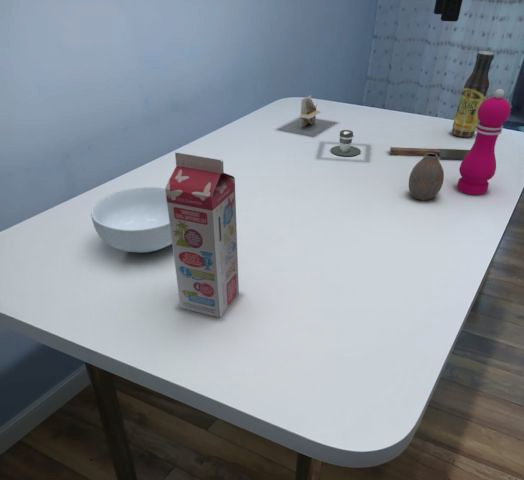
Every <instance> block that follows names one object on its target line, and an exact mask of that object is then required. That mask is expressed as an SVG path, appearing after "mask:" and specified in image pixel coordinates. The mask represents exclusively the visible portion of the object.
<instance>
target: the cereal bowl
mask: <svg viewBox="0 0 524 480" xmlns="http://www.w3.org/2000/svg"><path fill="white" fill-rule="evenodd" d="M165 188H166V187H161V186H138V187H131V188H130V187H129V188H126V189H121V190H118V191H115V192H114V191H113V192H112V193H109V194H106V195H105V196H103V197H100V199H98V200H97V201H96V202H95V203H94V204H93V205H92V207H91V209H90V217H91V221H92V224H93V226H94V230H95V231H96V234H97V235H98V236H99V238H100V239H101V240H102V241H103V242H104V243H106V245H108V246H110V247H112V248H115V249H116V250H119V251H123V252H127V253H139V254H145V253H153V252H156V251H159V250H160V249H164V248H166V247H168V246H171V245H172V237H171V230H170V222H169V214H168V206H167V199H166V191H165Z"/></svg>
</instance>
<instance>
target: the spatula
mask: <svg viewBox="0 0 524 480" xmlns="http://www.w3.org/2000/svg"><path fill="white" fill-rule="evenodd" d="M470 150H471V149H458V148H457V149H454V148H425V147H423V148H422V147H401V146H400V147H399V146H397V147H395V146H391V147H390V146H389V154H390V155H391V156H392V155H393V156H419V157H421V156H422V157H424V156H425V154H427V153H435V154H437V155H438V159H440V160H448V161H449V160H450V161H463V159H464V157H465V156H466V155H467V154H468V152H469V151H470Z"/></svg>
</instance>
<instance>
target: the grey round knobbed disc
mask: <svg viewBox="0 0 524 480" xmlns="http://www.w3.org/2000/svg"><path fill="white" fill-rule="evenodd" d="M353 138H354V131H352V130H350V129H341V130H340V132H339V145H335V146H332V147H331V148H330V149H329V150H330V153H331V154H333V155H334V156H339V157H355V156H358V155H360V154H361V152H362V150H361V149H360V148H359V147H357V146H353V145H352V142H353Z"/></svg>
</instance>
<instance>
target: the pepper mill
mask: <svg viewBox="0 0 524 480" xmlns="http://www.w3.org/2000/svg"><path fill="white" fill-rule="evenodd" d="M504 95H505V90H503V88H499V89H496V90H495V91H494V93H493V96H492V97H488V98H486V99H485V101H484V102H482V104H481V105H480V107H479V109H478V113H477V115H478V119H479V121H478V123H477V128H476V130H475V132H476V135H475V139H474V142H473V145H472V146H471V148H470V149H469V150H470V151H469V152H468V154H467V155H466V156H465V157H464V159H463V160H461V163H460V165H459V167H458V171H459V174H460V176H461V177H459V178H458V181H457V185H456V190H458V191H459V192H461V193H462V194H466V195H471V196H481V195H485V194H486V193H487V192H488V188H489V185H490V183H489V182H488V181H490V180H491V179H493V177H494V176H495V174H496V169H497V160H496V153H495V151H496V150H495V148H496V143H497V140H498V138H499V135H501V134H502V131H503V129H504V125H503V124H504V123H505V122H507V120H508V119H509V117H510V115H511V110H512V108H511V104H510V102H509V101H508V100H507V99H505V98H504Z"/></svg>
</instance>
